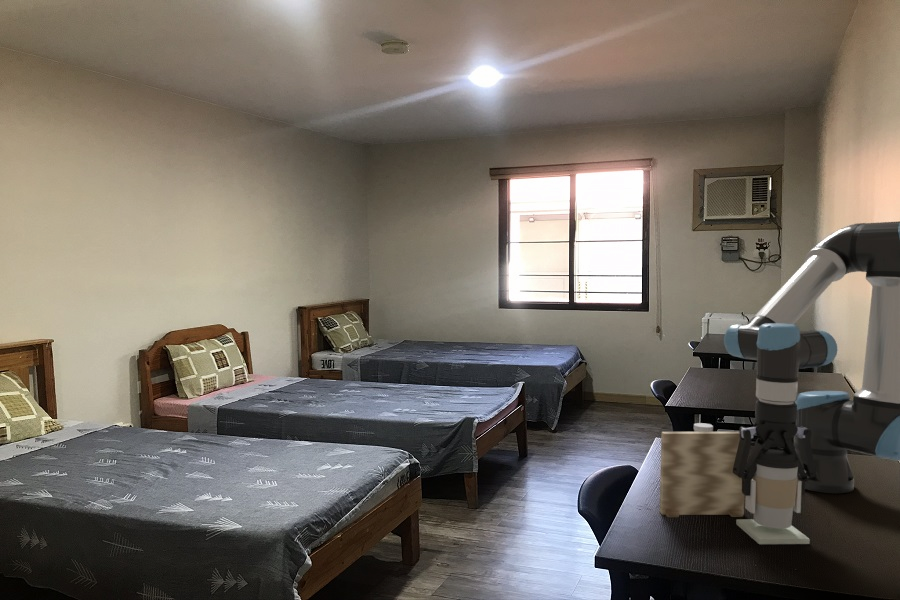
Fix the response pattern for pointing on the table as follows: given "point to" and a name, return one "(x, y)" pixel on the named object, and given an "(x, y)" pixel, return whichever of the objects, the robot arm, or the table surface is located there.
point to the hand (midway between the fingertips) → (772, 510)
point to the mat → (772, 533)
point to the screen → (700, 474)
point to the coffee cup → (775, 488)
